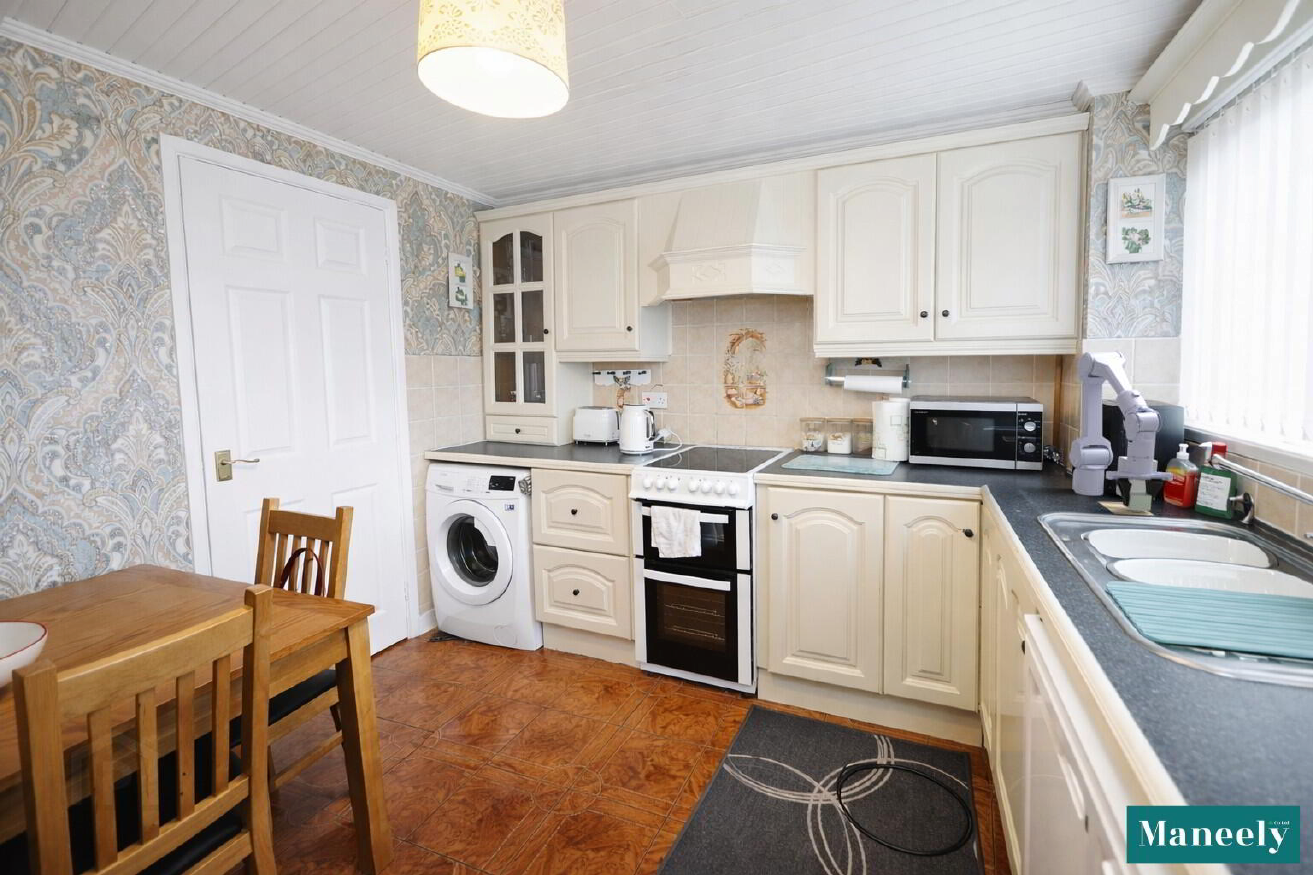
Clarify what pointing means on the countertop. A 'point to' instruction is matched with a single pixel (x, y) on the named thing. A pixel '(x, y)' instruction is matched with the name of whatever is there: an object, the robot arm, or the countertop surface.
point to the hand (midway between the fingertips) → (1136, 505)
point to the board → (1122, 509)
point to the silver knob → (1136, 511)
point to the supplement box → (1136, 484)
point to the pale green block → (1139, 501)
